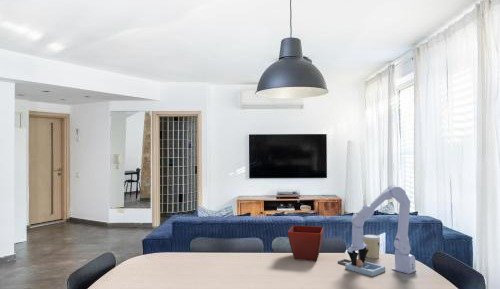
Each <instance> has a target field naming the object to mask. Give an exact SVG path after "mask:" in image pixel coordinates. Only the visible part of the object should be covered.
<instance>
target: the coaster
mask: <svg viewBox="0 0 500 289" xmlns="http://www.w3.org/2000/svg"><path fill="white" fill-rule="evenodd" d="M350 262H351V259H346V258H343V259H341V260H338V261H337V264H340V265H343V266H345V264H347V263H350Z"/></svg>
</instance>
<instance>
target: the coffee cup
mask: <svg viewBox="0 0 500 289" xmlns="http://www.w3.org/2000/svg"><path fill="white" fill-rule="evenodd" d="M380 242H381V238H380V236H379V235H378V234H377V235H376V234H365V235H364V234H363V243H364V244H367V248H366V249H368V250H369V251H368V253H367V255H366V258H368V259H379V257H380V246H381V244H380Z"/></svg>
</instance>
